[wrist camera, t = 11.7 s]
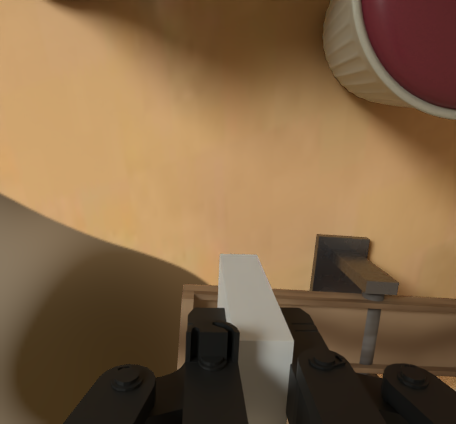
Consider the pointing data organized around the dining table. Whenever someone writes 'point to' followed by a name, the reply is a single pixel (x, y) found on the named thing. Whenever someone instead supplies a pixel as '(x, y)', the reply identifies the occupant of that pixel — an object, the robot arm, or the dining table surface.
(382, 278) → the beam stand
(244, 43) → the dining table surface
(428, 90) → the canister
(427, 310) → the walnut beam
